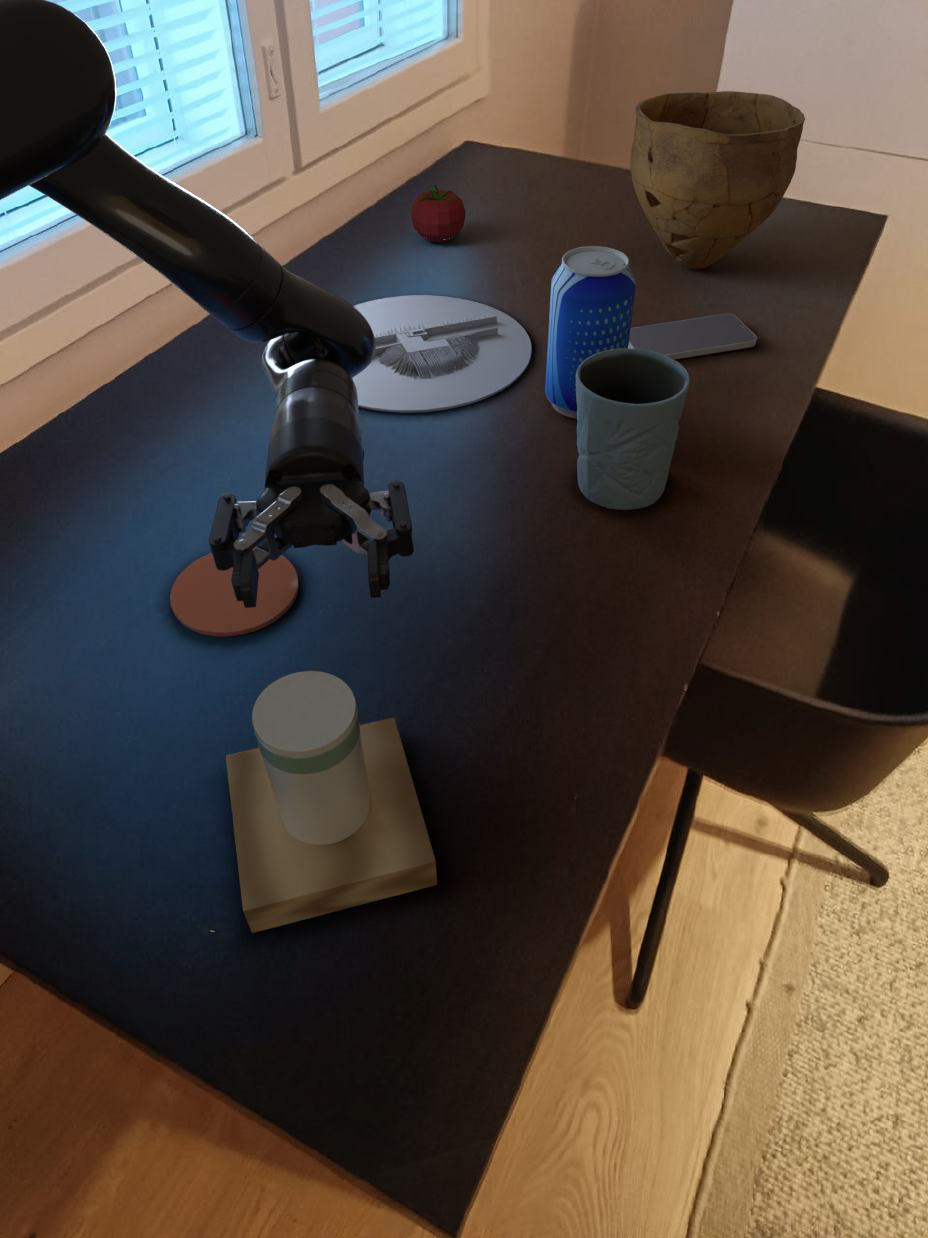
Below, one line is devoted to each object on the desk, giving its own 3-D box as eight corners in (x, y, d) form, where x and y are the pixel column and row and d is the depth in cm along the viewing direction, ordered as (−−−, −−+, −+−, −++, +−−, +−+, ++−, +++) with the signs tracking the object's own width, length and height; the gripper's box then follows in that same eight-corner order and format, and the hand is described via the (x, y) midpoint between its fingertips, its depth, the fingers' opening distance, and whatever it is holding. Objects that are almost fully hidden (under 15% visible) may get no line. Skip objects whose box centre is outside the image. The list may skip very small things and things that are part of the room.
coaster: (174, 648, 73) (172, 644, 73) (168, 563, 81) (167, 559, 81) (307, 621, 75) (306, 617, 75) (289, 540, 83) (289, 536, 83)
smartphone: (618, 329, 109) (732, 312, 111) (618, 336, 110) (730, 319, 112) (642, 358, 104) (760, 340, 106) (641, 366, 105) (759, 347, 107)
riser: (251, 933, 56) (242, 911, 54) (234, 780, 64) (225, 755, 62) (437, 885, 58) (435, 861, 56) (397, 742, 66) (394, 717, 64)
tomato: (403, 234, 132) (400, 180, 127) (450, 224, 135) (449, 170, 130) (426, 254, 127) (424, 198, 122) (475, 243, 130) (475, 188, 124)
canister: (285, 856, 56) (257, 762, 49) (273, 779, 61) (245, 682, 53) (380, 833, 57) (365, 737, 50) (361, 758, 62) (346, 660, 55)
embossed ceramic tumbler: (668, 520, 84) (689, 409, 76) (561, 509, 86) (570, 399, 77) (671, 458, 91) (690, 350, 83) (572, 449, 93) (581, 342, 84)
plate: (487, 284, 120) (487, 275, 119) (567, 387, 101) (568, 377, 101) (280, 316, 115) (279, 307, 114) (324, 431, 96) (323, 422, 95)
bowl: (587, 266, 124) (601, 105, 110) (679, 225, 133) (702, 73, 119) (710, 317, 113) (743, 145, 99) (800, 269, 122) (842, 106, 108)
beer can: (558, 428, 96) (568, 282, 84) (535, 388, 101) (542, 247, 90) (632, 417, 97) (652, 272, 86) (605, 378, 103) (620, 238, 91)
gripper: (216, 421, 69) (191, 560, 57) (401, 408, 69) (414, 543, 58) (235, 499, 74) (216, 641, 62) (407, 486, 75) (420, 624, 63)
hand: (311, 594), depth 60 cm, fingers open, 8 cm apart
